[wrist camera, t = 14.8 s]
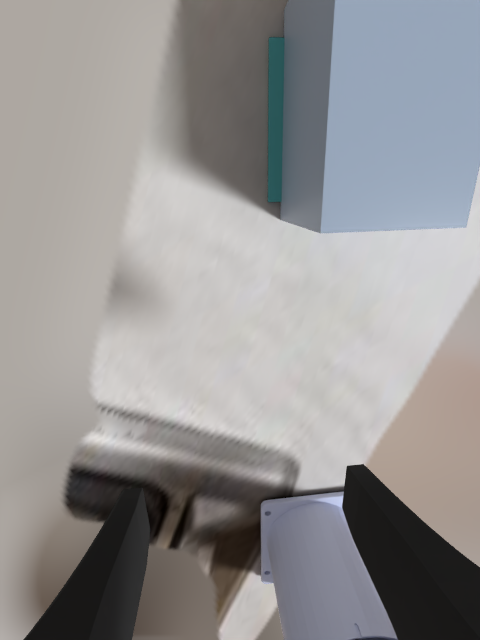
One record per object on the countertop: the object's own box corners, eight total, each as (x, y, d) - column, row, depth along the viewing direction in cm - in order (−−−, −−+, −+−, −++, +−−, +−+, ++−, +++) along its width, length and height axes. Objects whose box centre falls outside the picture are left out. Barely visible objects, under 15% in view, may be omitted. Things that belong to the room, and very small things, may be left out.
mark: (392, 198, 18) (394, 198, 18) (267, 201, 17) (268, 202, 17) (413, 41, 16) (416, 39, 15) (268, 39, 15) (269, 37, 15)
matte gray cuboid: (378, 216, 18) (466, 227, 12) (280, 219, 18) (320, 233, 12) (403, 12, 15) (540, -113, 9) (284, 9, 15) (342, -124, 8)
